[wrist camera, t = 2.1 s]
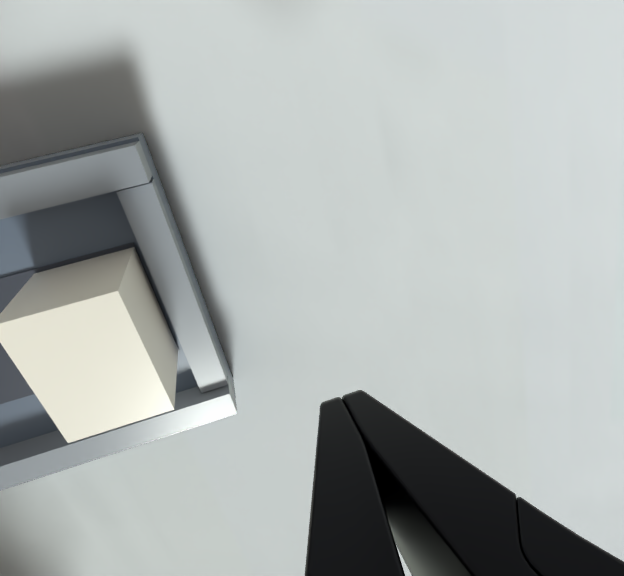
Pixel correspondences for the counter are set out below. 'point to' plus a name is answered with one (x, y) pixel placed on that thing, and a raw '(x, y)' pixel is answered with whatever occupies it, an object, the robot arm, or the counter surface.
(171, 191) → the counter surface
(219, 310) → the counter surface
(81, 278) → the beige block
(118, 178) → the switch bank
